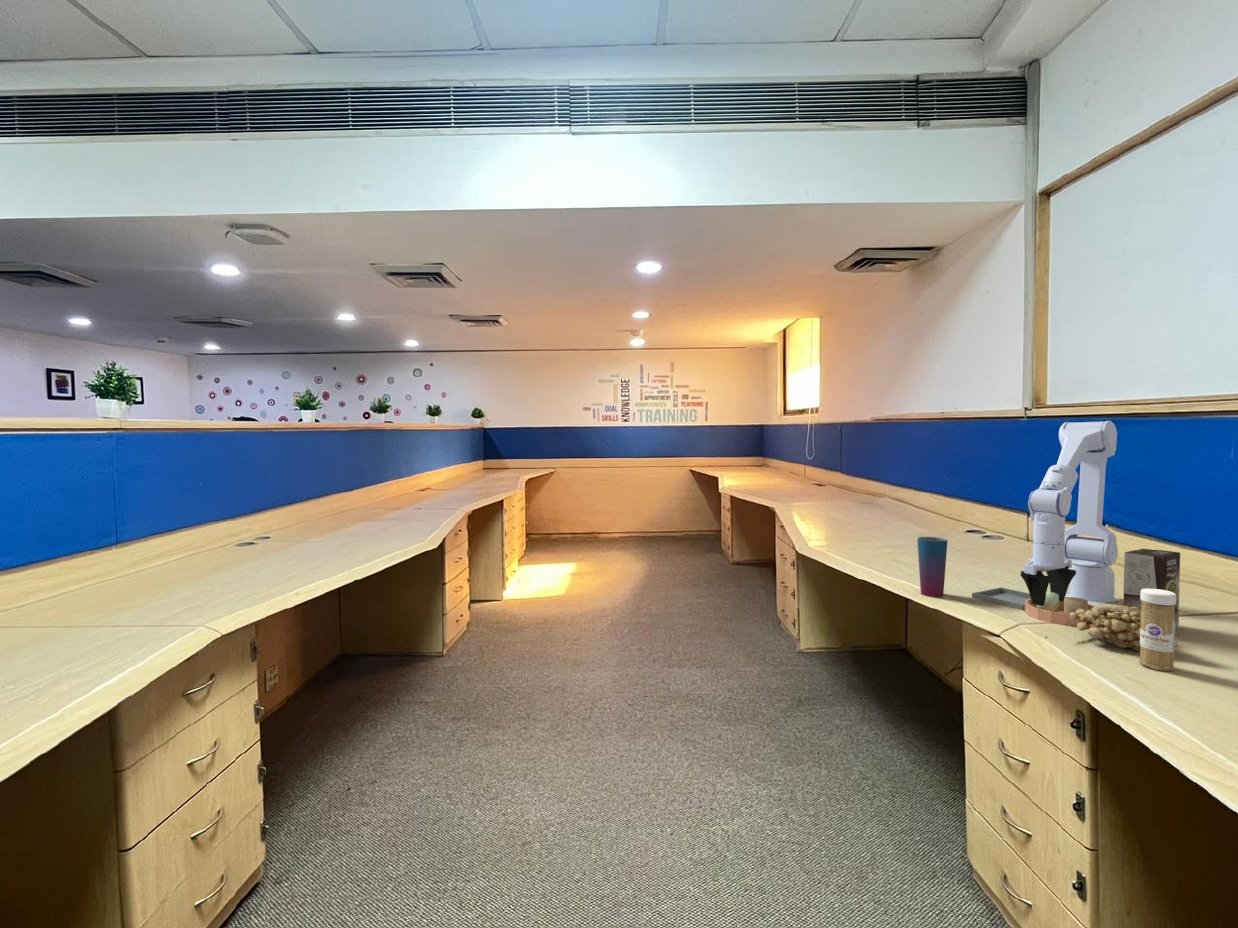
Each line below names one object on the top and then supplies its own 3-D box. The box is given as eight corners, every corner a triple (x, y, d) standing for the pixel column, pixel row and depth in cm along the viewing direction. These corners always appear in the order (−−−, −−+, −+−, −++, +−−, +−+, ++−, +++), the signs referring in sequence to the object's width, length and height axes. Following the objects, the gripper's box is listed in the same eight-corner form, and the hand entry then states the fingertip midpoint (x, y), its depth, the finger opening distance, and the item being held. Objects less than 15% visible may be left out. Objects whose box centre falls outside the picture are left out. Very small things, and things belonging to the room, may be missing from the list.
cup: (951, 600, 143) (951, 541, 142) (921, 599, 144) (921, 540, 143) (941, 593, 149) (942, 536, 149) (913, 592, 151) (913, 536, 150)
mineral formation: (1185, 660, 102) (1083, 646, 108) (1147, 648, 115) (1057, 635, 120) (1185, 615, 103) (1084, 603, 109) (1147, 607, 116) (1058, 596, 121)
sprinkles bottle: (1139, 667, 100) (1141, 591, 99) (1138, 659, 103) (1139, 586, 103) (1176, 674, 97) (1177, 595, 97) (1173, 665, 100) (1175, 590, 100)
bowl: (1046, 607, 136) (1046, 595, 136) (1113, 623, 124) (1114, 609, 124) (1012, 615, 130) (1012, 602, 130) (1079, 632, 118) (1079, 618, 118)
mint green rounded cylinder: (1043, 609, 132) (1043, 590, 132) (1062, 614, 128) (1062, 594, 128) (1032, 611, 131) (1032, 592, 130) (1051, 616, 127) (1051, 596, 127)
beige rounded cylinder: (1070, 616, 127) (1070, 596, 127) (1091, 620, 124) (1091, 600, 123) (1060, 618, 125) (1060, 598, 125) (1081, 623, 122) (1081, 602, 122)
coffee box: (1161, 635, 116) (1162, 556, 115) (1121, 626, 121) (1122, 551, 121) (1180, 628, 120) (1182, 551, 119) (1141, 619, 126) (1142, 547, 125)
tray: (1000, 594, 148) (1000, 587, 148) (1052, 605, 137) (1052, 598, 137) (971, 600, 143) (971, 592, 143) (1022, 612, 132) (1023, 604, 132)
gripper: (1048, 537, 136) (1047, 593, 136) (1010, 542, 129) (1009, 602, 130) (1082, 541, 129) (1081, 601, 130) (1044, 547, 123) (1043, 610, 124)
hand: (1048, 602), depth 129 cm, fingers open, 7 cm apart
